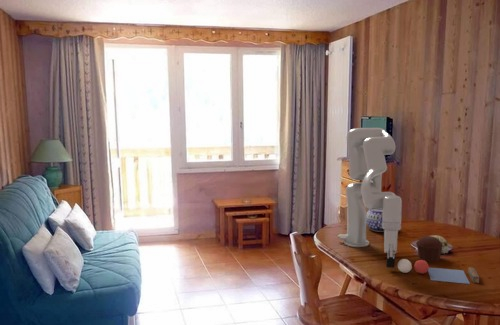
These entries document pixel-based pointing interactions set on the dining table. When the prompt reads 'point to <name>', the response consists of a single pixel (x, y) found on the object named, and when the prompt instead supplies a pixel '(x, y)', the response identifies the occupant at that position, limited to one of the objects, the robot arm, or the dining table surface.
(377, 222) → the teapot
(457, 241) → the dining table surface
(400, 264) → the cue ball
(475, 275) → the stopper wall
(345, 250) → the dining table surface
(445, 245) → the seashell
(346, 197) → the robot arm
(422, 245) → the muffin
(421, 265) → the red ball
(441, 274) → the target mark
